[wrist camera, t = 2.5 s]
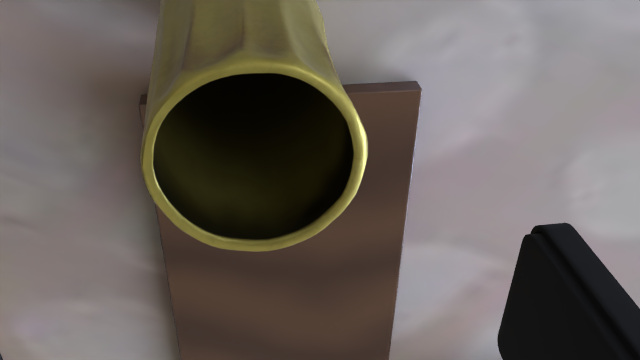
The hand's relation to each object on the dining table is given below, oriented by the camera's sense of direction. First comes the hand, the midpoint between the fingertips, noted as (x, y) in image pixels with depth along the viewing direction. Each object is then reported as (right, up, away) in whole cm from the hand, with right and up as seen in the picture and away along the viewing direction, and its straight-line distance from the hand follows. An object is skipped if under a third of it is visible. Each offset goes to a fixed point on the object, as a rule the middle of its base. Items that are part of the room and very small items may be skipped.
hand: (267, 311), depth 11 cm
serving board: (-1, -2, +24) cm, 24 cm away
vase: (-3, +11, +15) cm, 19 cm away
